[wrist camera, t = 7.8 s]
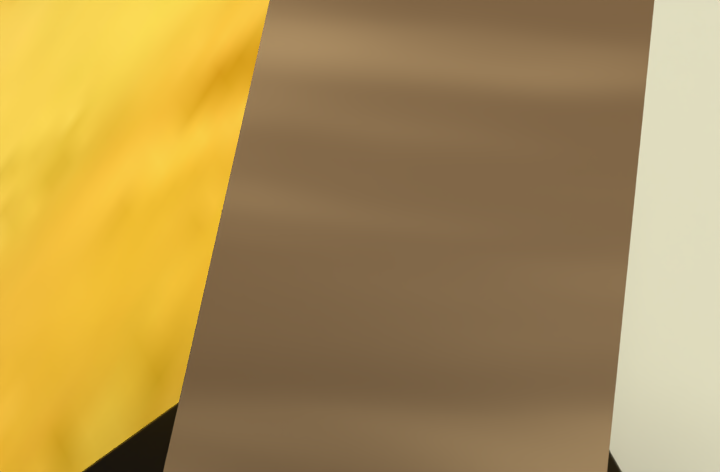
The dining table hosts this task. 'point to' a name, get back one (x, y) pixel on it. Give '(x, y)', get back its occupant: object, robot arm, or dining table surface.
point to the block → (422, 241)
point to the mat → (674, 256)
